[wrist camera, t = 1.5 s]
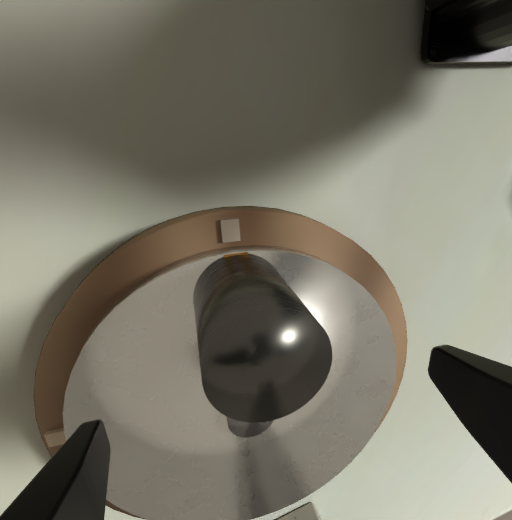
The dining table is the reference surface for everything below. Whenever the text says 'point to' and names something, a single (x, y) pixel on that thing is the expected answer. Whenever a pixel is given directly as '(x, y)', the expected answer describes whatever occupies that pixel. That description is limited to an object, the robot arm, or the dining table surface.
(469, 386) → the robot arm
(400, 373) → the dial base
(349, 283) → the dial
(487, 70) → the dining table surface
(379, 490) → the dining table surface
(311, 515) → the coffee box
